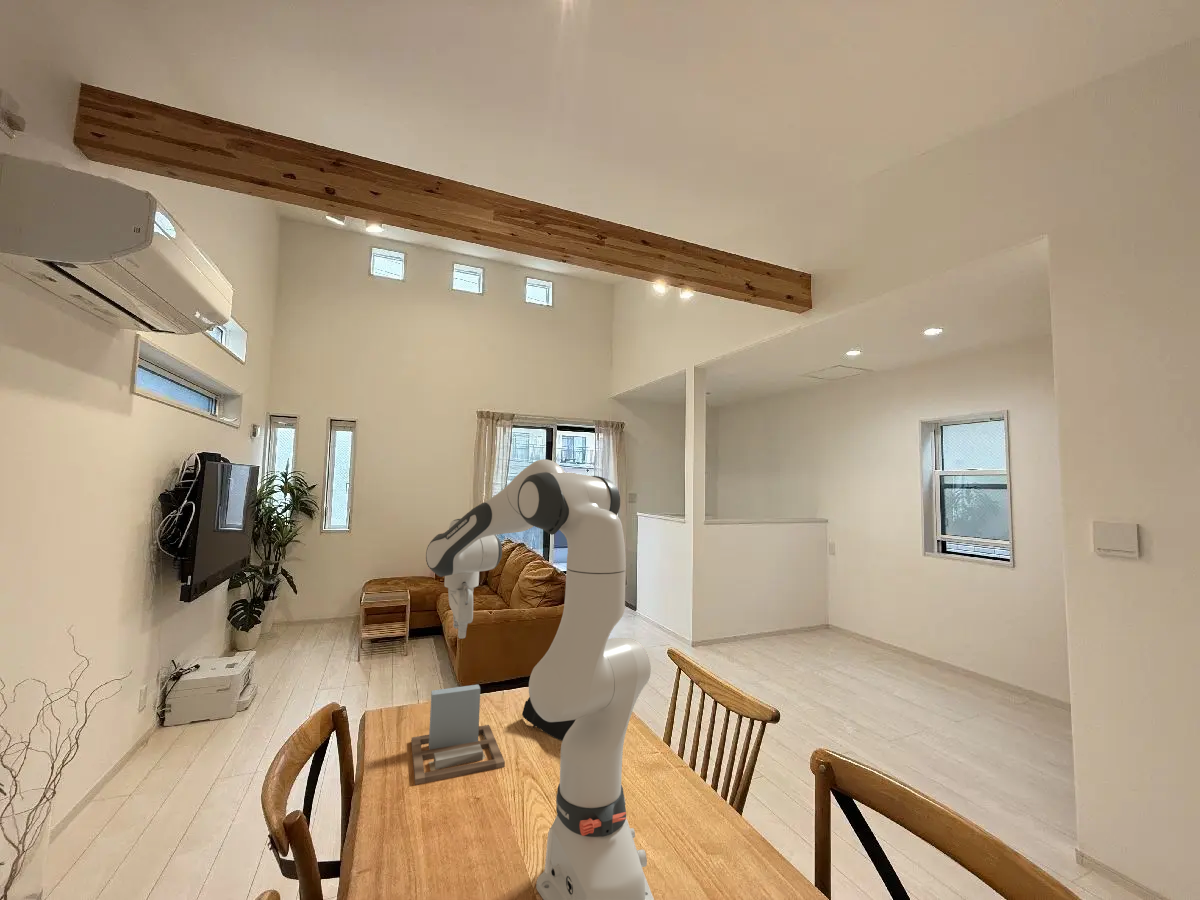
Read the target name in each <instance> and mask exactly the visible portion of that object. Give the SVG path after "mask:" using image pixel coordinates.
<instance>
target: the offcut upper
mask: <svg viewBox="0 0 1200 900" xmlns="http://www.w3.org/2000/svg"><path fill="white" fill-rule="evenodd" d="M483 753H484V749H482V748H481V745H480V744H478V745H473V746H468V747H463V748H458V749H453V750H448V751H443V752H438V753H434V758H433V761H434V765H435V769H436V770H437V769H438V770H441V769H442V768H443V769H446V768H452V767H457V766H462V765H466V764H471V763H476V762H480V761H483V760H484V759H483ZM451 766H452V767H451ZM436 770H435V771H436Z"/></svg>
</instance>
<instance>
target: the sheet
mask: <svg viewBox="0 0 1200 900" xmlns="http://www.w3.org/2000/svg"><path fill="white" fill-rule="evenodd" d="M480 704H481V686H480V685H479V684H471V685H464V686H457V687H448V688H441V689H440V688H439V689H436V690H435V689H433V690H431V693H430V711H429V712H430V714H429V715H430V716H429V728H428V729H429V730H428V731H429V733H428V735H429V743H428V750H431V749H436V748H442V747H448V746H453V745H459V744H465V743H471V742H476V741H479V734H478V733H479V726H480V711H481V710H480V707H481V705H480Z"/></svg>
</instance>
